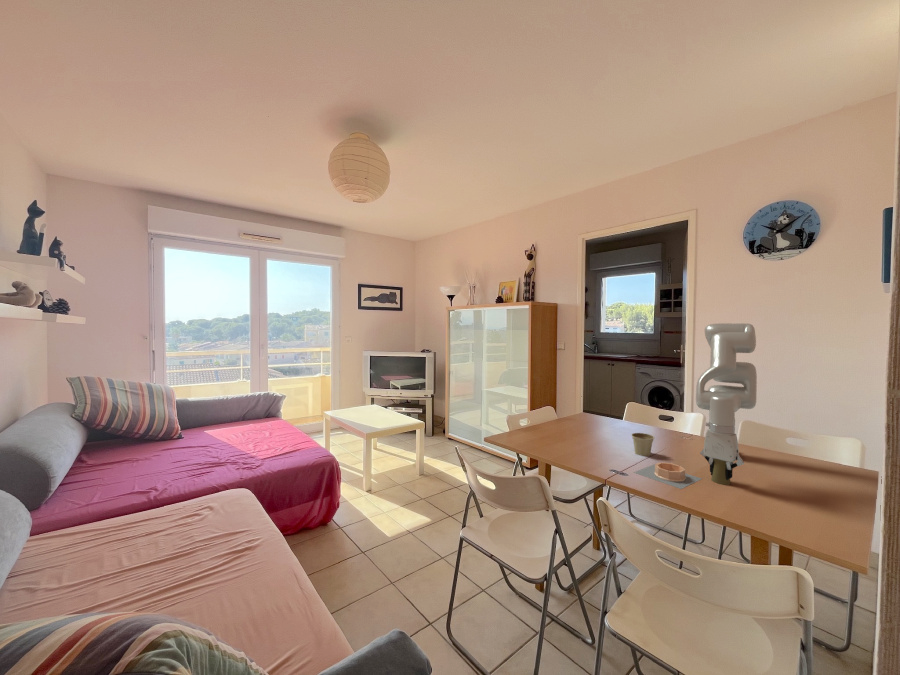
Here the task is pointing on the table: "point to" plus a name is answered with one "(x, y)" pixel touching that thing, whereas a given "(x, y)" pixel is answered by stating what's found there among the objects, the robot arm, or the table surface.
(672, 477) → the peach octagonal bowl
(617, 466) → the table surface
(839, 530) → the table surface
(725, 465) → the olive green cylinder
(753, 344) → the robot arm
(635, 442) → the flower pot
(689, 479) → the felt mat
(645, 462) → the table surface
